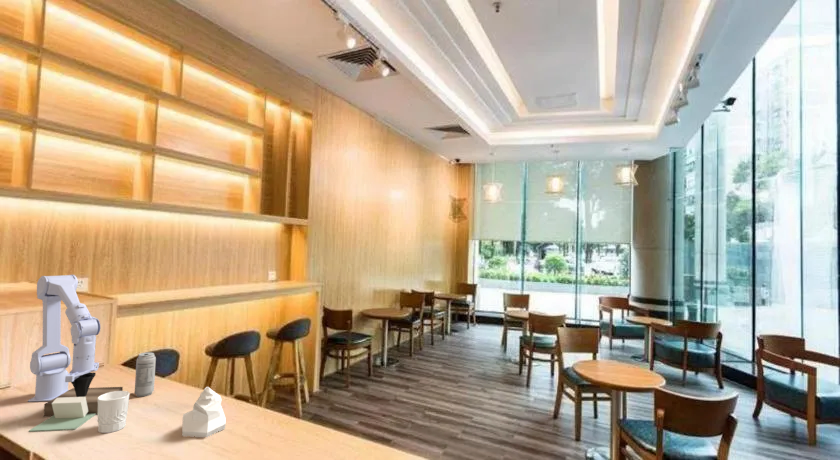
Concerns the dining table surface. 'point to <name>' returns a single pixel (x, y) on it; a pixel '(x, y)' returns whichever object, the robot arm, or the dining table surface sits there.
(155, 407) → the dining table surface
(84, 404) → the tile
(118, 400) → the white cup
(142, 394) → the energy drink can
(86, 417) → the mat
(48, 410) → the brown flat block
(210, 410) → the white faceted lump
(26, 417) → the dining table surface
